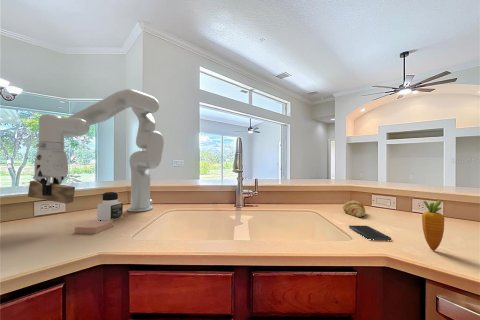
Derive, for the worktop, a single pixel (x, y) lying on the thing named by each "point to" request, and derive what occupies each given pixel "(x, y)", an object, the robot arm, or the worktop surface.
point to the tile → (93, 227)
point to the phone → (369, 233)
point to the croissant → (354, 208)
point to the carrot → (433, 225)
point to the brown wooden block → (52, 192)
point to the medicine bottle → (110, 207)
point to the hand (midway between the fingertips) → (51, 194)
